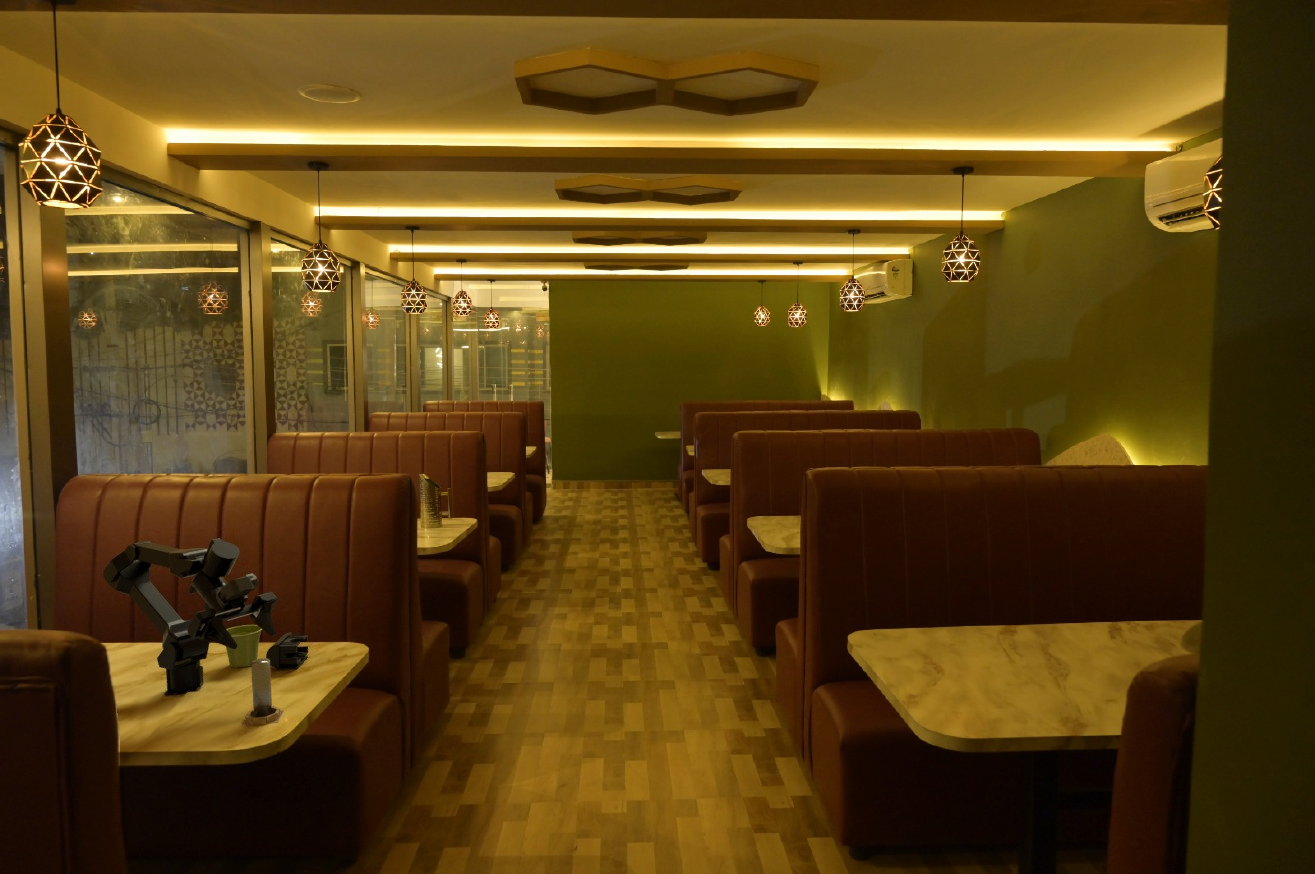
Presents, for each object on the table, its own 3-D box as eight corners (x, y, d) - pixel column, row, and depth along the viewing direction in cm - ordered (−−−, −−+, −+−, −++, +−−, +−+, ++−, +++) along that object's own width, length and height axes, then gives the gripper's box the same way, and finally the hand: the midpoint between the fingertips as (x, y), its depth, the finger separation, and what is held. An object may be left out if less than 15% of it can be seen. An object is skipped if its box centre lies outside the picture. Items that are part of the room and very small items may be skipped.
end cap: (280, 658, 211) (279, 632, 210) (309, 656, 212) (308, 631, 211) (266, 672, 201) (265, 644, 200) (296, 670, 202) (295, 643, 201)
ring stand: (241, 730, 167) (241, 720, 167) (249, 718, 173) (248, 707, 173) (277, 727, 168) (277, 716, 168) (284, 714, 175) (283, 704, 175)
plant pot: (214, 666, 205) (212, 632, 204) (250, 655, 213) (248, 622, 212) (236, 673, 200) (234, 638, 199) (272, 661, 208) (270, 627, 207)
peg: (251, 722, 169) (249, 664, 168) (256, 715, 172) (253, 659, 171) (270, 720, 169) (267, 663, 169) (274, 713, 173) (271, 657, 172)
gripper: (188, 574, 171) (229, 626, 166) (266, 556, 188) (306, 603, 183) (170, 612, 175) (210, 664, 170) (248, 591, 192) (287, 638, 187)
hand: (255, 641), depth 177 cm, fingers open, 9 cm apart
